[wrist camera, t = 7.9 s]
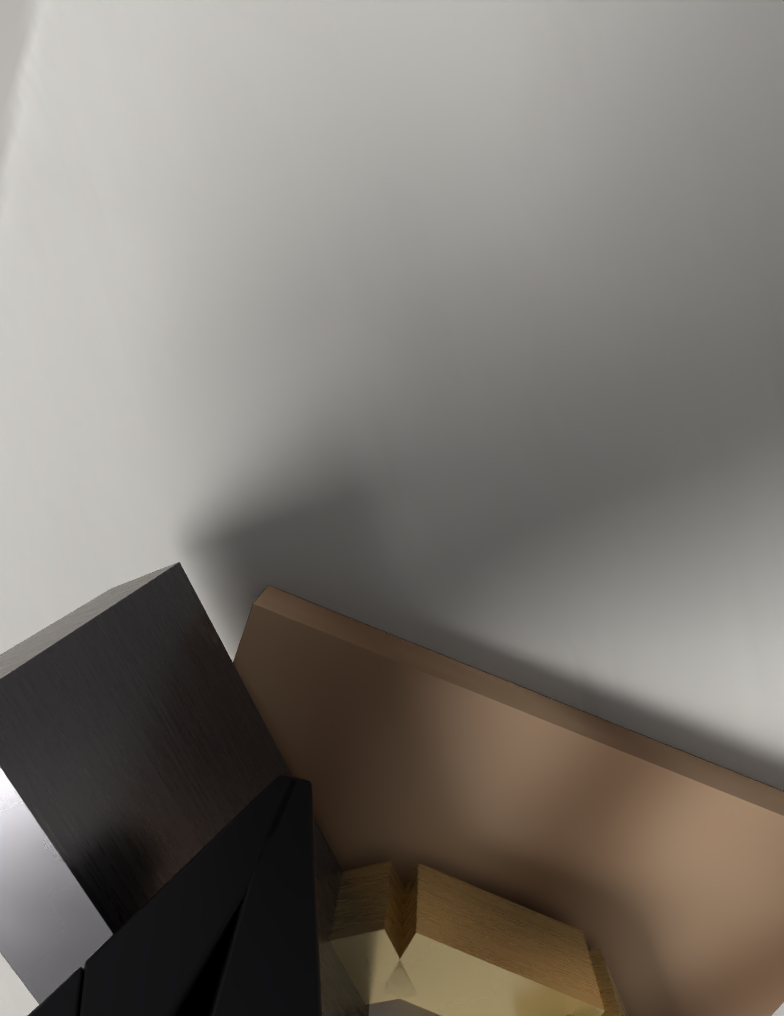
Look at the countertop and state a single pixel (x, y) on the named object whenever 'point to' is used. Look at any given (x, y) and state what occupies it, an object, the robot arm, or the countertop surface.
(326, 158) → the countertop surface
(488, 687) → the flange board
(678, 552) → the countertop surface
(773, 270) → the countertop surface
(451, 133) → the countertop surface
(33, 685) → the gold ring with handle
